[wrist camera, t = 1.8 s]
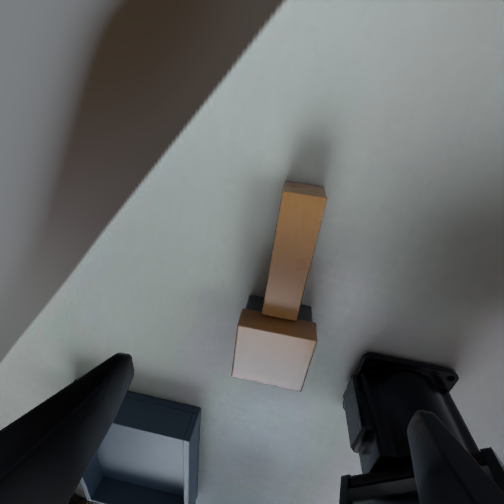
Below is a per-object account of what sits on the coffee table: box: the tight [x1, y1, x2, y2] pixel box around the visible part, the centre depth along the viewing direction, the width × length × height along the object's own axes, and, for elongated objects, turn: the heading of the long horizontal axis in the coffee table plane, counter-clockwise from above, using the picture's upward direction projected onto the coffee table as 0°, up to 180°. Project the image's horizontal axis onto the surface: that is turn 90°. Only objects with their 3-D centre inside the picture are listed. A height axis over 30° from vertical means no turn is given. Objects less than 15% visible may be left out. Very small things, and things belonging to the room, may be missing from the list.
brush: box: [232, 181, 327, 392], centre depth 17 cm, size 13×5×3 cm, turn 173°
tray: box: [75, 380, 201, 504], centre depth 30 cm, size 13×19×3 cm
